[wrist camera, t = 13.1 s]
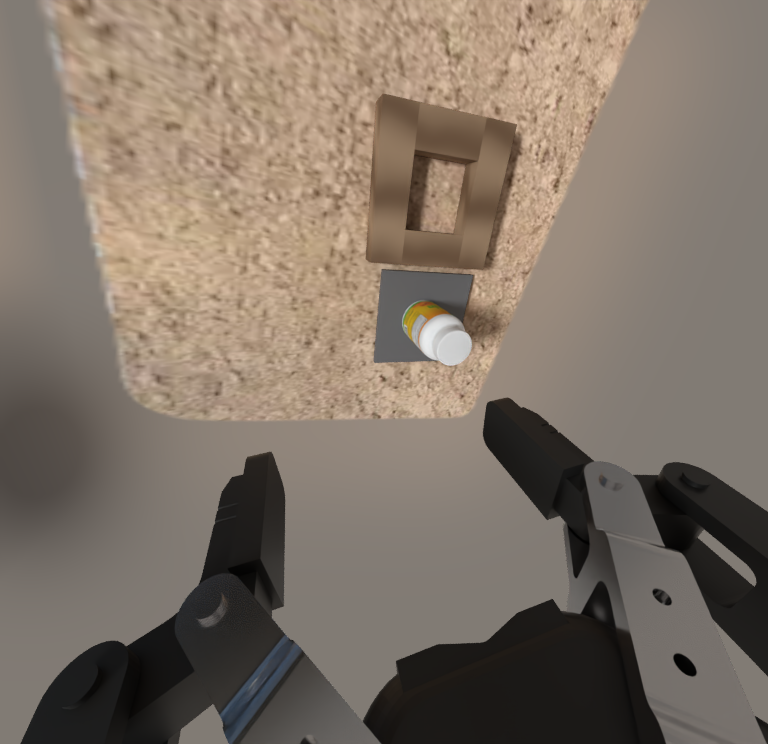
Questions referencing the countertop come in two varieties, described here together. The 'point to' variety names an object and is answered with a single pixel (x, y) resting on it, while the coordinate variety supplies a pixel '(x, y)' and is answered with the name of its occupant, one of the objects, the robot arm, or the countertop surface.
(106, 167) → the countertop surface
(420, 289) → the rubber mat
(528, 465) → the robot arm
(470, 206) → the walnut socket
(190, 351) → the countertop surface
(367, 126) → the countertop surface
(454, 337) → the supplement bottle
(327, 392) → the countertop surface
